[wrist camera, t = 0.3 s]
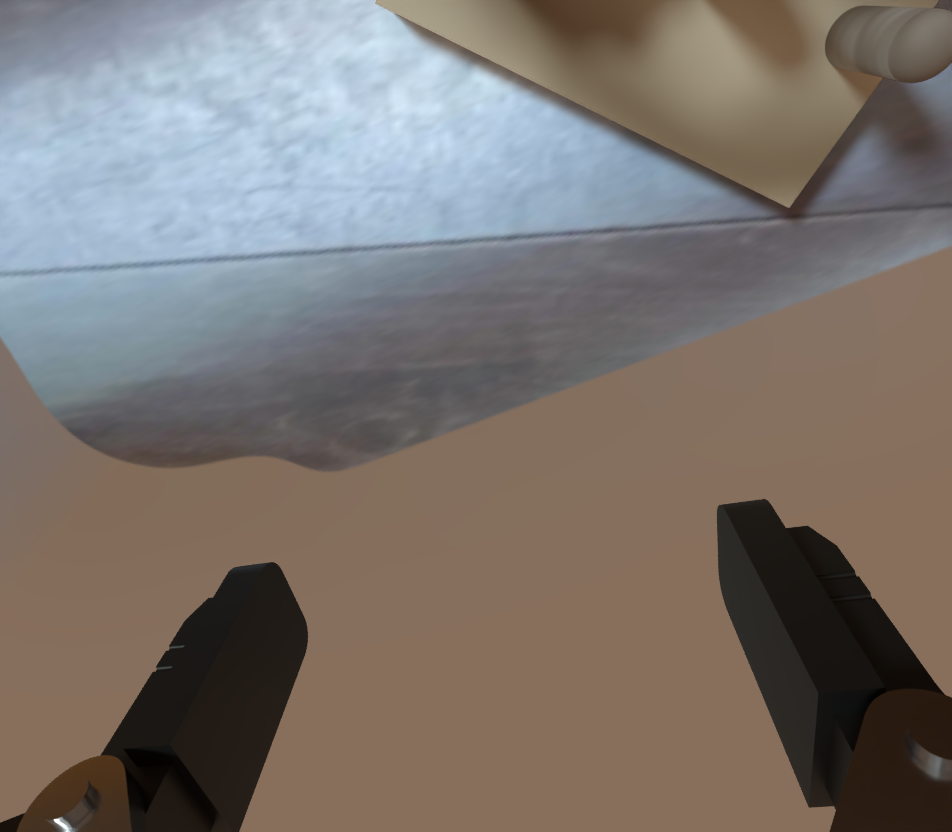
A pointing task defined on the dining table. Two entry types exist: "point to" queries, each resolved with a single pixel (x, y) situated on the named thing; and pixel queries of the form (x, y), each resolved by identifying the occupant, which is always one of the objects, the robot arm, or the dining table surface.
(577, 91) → the gear board
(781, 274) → the dining table surface
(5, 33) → the dining table surface
